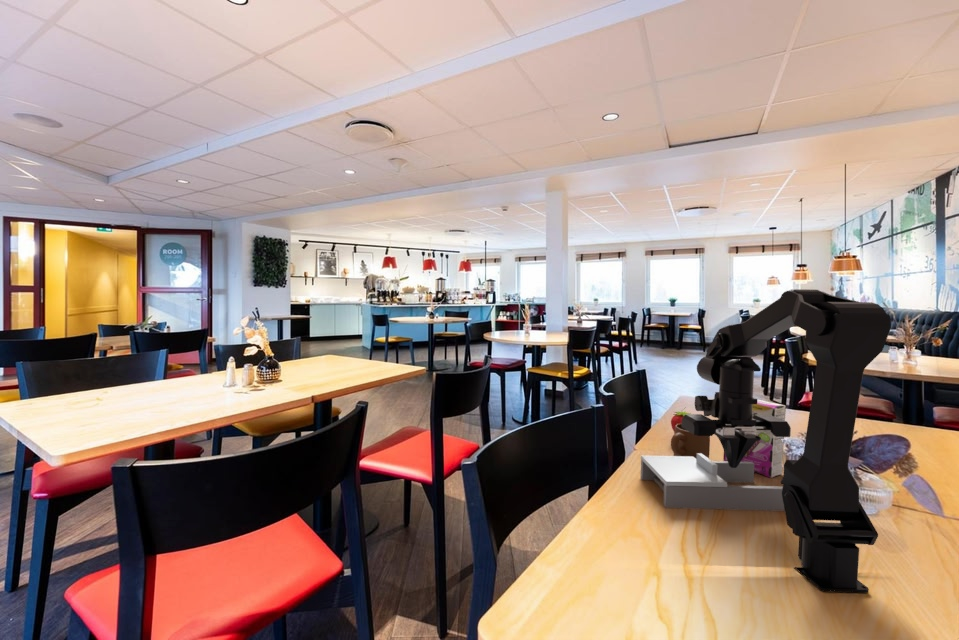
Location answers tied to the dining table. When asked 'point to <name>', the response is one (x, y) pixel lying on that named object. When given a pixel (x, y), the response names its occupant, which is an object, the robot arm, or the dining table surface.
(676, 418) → the strawberry
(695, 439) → the mug
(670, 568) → the dining table surface
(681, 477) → the lid
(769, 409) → the candy bar box
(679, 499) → the housing
